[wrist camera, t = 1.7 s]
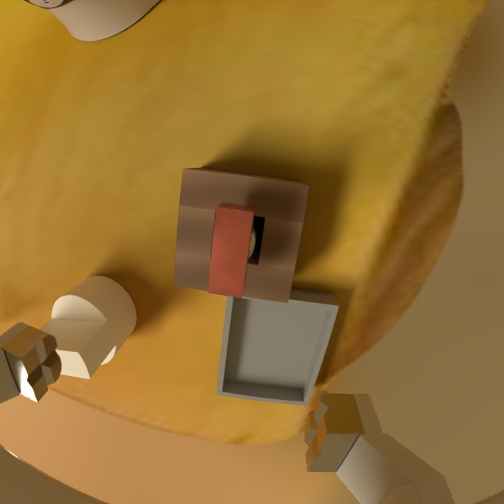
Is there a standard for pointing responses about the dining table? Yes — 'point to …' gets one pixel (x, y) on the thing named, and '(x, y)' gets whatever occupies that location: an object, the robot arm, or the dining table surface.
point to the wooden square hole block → (267, 205)
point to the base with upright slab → (91, 325)
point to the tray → (275, 346)
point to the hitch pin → (232, 248)
